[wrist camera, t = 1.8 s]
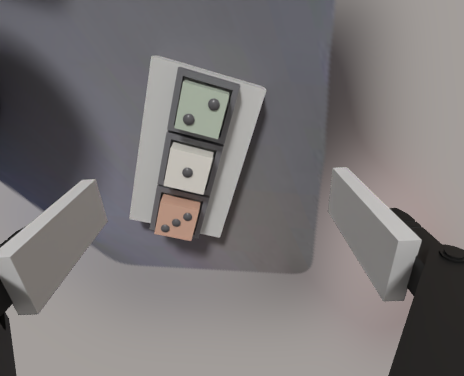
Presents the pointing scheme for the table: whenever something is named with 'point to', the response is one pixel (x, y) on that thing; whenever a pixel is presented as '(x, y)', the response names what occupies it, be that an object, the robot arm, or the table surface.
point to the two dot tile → (201, 109)
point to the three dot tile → (177, 217)
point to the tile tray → (192, 143)
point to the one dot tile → (188, 168)
